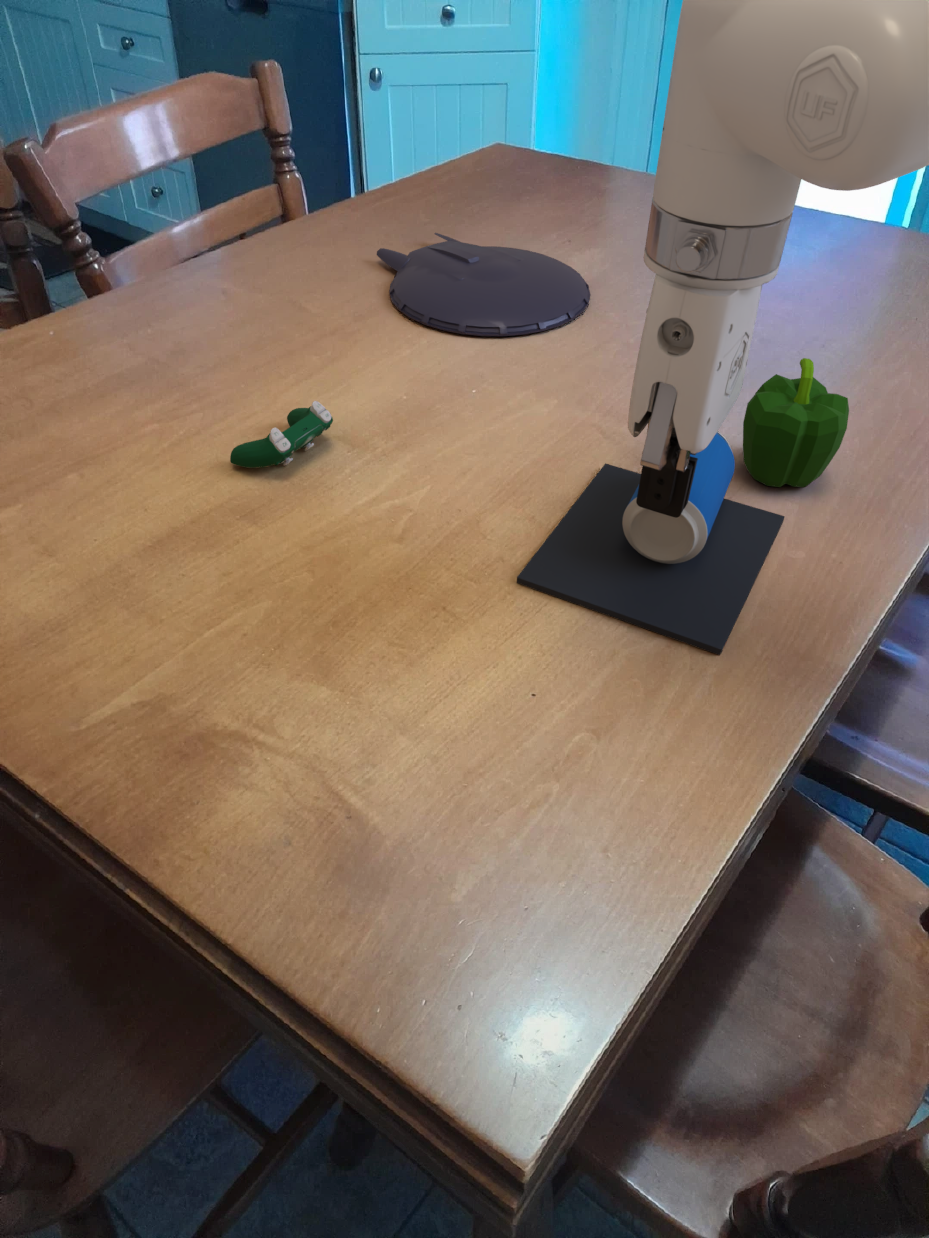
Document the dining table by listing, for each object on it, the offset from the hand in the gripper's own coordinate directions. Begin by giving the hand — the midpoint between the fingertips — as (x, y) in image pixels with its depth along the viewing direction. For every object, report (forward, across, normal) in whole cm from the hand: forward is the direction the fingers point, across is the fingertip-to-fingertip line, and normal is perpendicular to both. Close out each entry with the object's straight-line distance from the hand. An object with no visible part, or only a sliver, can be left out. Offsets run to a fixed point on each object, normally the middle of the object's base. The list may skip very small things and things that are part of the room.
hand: (661, 505), depth 63 cm
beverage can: (+4, +2, 0) cm, 5 cm away
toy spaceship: (+8, +44, +37) cm, 58 cm away
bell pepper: (+8, +21, -5) cm, 23 cm away
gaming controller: (+8, +2, +35) cm, 36 cm away
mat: (+8, +5, +1) cm, 10 cm away
